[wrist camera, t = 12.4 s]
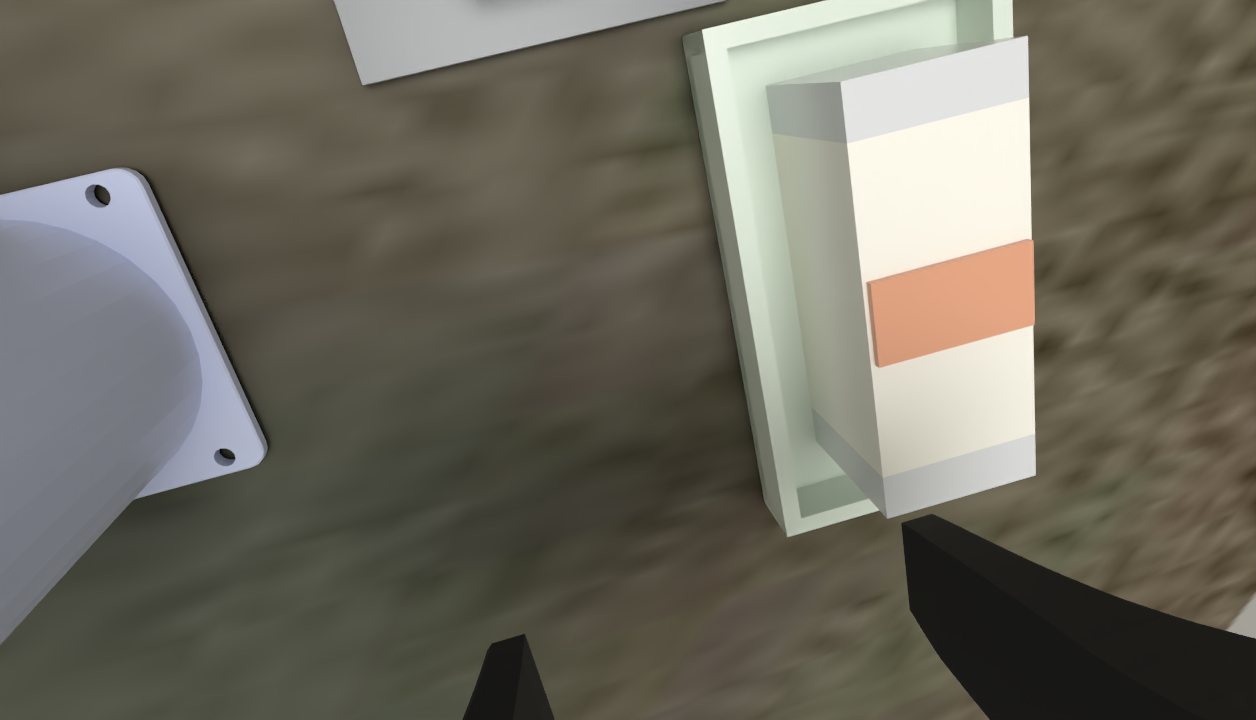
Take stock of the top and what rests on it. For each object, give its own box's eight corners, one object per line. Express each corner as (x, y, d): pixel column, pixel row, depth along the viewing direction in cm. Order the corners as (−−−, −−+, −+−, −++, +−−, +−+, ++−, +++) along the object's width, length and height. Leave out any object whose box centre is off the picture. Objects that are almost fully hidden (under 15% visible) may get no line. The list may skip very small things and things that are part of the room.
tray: (764, 502, 23) (787, 537, 21) (681, 36, 18) (702, 29, 16) (982, 439, 24) (1023, 468, 22) (960, -30, 19) (1011, -44, 17)
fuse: (816, 441, 22) (891, 523, 18) (765, 85, 18) (844, 81, 14) (938, 407, 23) (1041, 478, 18) (913, 48, 19) (1034, 35, 15)
